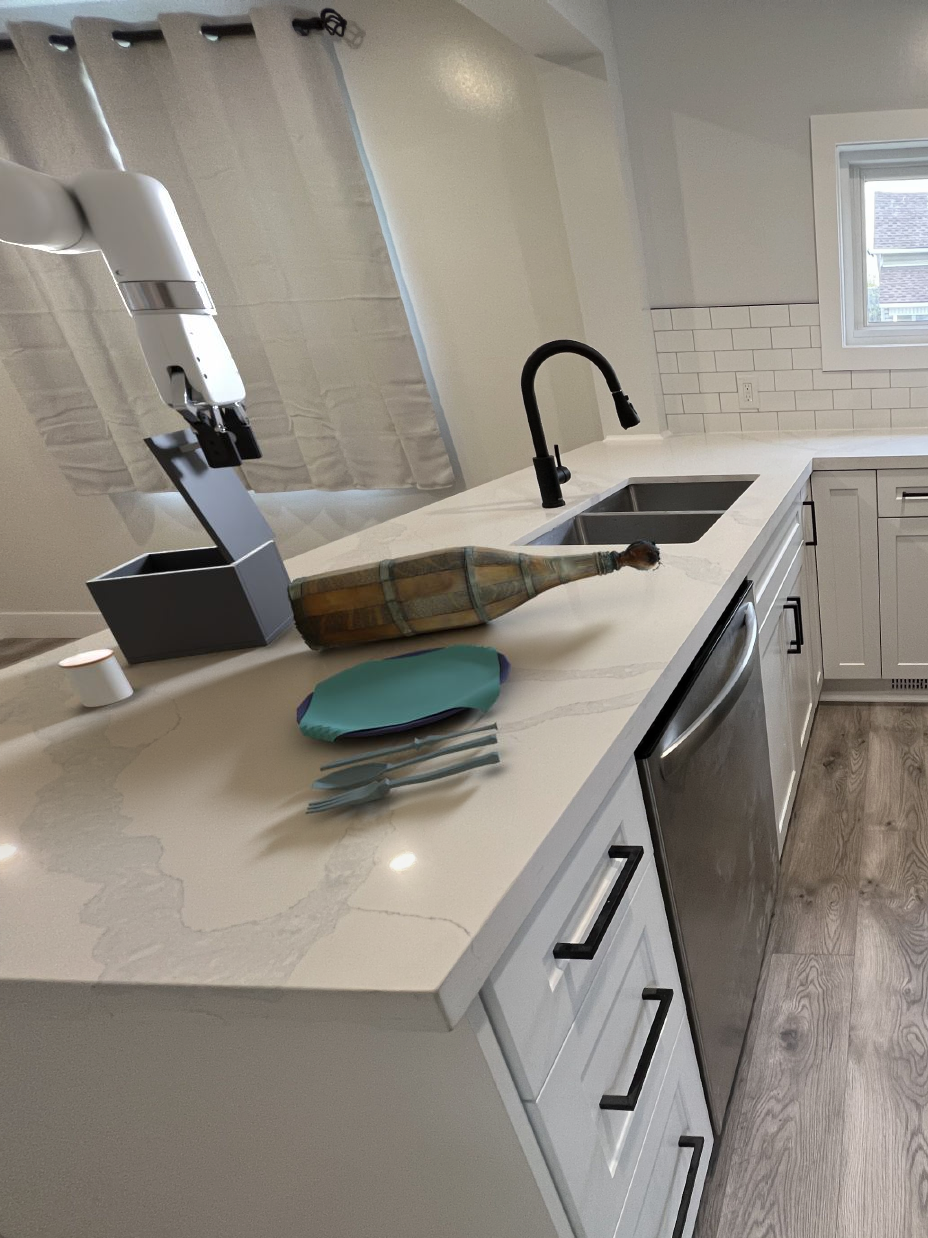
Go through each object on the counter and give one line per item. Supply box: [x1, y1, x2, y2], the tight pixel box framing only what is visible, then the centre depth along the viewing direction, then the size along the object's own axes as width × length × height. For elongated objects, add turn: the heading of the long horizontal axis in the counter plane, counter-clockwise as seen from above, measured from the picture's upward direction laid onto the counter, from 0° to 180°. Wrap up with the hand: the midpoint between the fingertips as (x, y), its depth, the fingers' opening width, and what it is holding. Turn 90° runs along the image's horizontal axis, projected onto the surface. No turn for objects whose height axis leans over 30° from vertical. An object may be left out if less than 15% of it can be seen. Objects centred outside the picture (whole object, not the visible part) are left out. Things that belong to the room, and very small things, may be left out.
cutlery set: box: [296, 643, 512, 815], centre depth 71 cm, size 20×30×2 cm, turn 27°
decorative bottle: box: [287, 539, 665, 652], centre depth 94 cm, size 11×11×45 cm
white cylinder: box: [58, 648, 134, 708], centre depth 77 cm, size 4×4×5 cm
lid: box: [142, 427, 277, 563], centre depth 88 cm, size 15×13×5 cm
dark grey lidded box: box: [84, 539, 295, 665], centre depth 91 cm, size 15×13×11 cm
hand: (237, 461), depth 87 cm, fingers closed on lid, 5 cm apart
